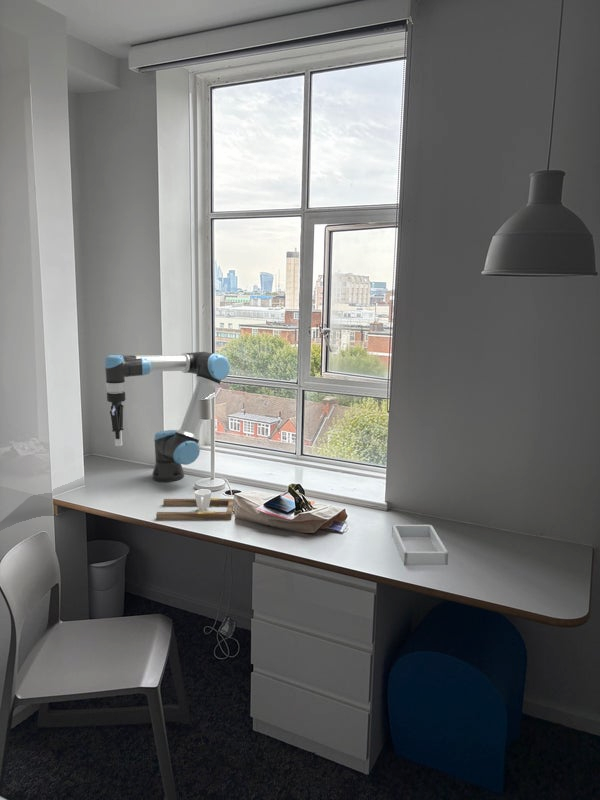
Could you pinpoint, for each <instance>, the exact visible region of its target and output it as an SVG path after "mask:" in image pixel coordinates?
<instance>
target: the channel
mask: <svg viewBox="0 0 600 800" xmlns="http://www.w3.org/2000/svg"><path fill="white" fill-rule="evenodd" d="M162 501H163V503H162V504H163V507H198V506H197V503H196V498H164V499H163V500H162ZM209 507H227V508H226V511H215V510H213V511H212V510H211V511H210V510H208V511H157V512H156V514H155V516H156V518H155V519H156V520H157V521H163V520H164V521H168V520H169V521H170V520H172V521H173V520H175V521H176V520H177V521H180V520H181V521H182V520H183V521H187V520H188V521H190V520H191V521H192V520H193V521H194V520H196V521H199V520H200V521H201V520H204V521H205V520H206V521H207V520H210V521H212V520H214V521H215V520H216V521H217V520H218V521H219V520H221V521H222V520H225V521H226V520H227V521H229V520H232V518H233V513H234V507H235V498H220V497H211V499H210V505H209Z"/></svg>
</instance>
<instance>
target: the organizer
mask: <svg viewBox="0 0 600 800" xmlns="http://www.w3.org/2000/svg"><path fill="white" fill-rule="evenodd" d="M391 528H392V529H391V538H392V539H393V543H394V544H395V547H396V550H397V552H398V554H399V557H400V559H401V561H402V564H403V565H404V566H448V565H449V564H448V562H449V561H448V560H449V551H448V550H447V548H446V547H445V545H444V543H443V542H442V539H441V538H440V536H439V535H438V534H437V533H438V532H437V531H436V530H435V529H434V526H433V525H432V524H392V526H391ZM402 538H429V540H430V542H431V543H432V546H433V547H434V549H435V550H436V551H408V550H407V548H406V546H405V545H404V541H403V540H402Z"/></svg>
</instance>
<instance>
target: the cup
mask: <svg viewBox="0 0 600 800" xmlns="http://www.w3.org/2000/svg"><path fill="white" fill-rule="evenodd" d="M211 498H212V491H211V490H210V489H206V488H201V489H197V490H195V491H194V499H196V503H197V506H196V507H197V510H198V511H210V509H209V507H210V506H209V505H210V499H211ZM198 511H197V512H198Z"/></svg>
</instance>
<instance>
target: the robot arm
mask: <svg viewBox="0 0 600 800" xmlns="http://www.w3.org/2000/svg"><path fill="white" fill-rule="evenodd" d="M230 367H231V366H230V363H229V360H228V358H226V357H225V356H224V355H222V354H219V353H213V352H209V351H197V352H183V353H181V354H175V355H174V354H168V355H167V354H166V355H165V354H164V355H162V354H160V355H159V354H158V355H157V354H154V355H153V354H152V355H151V354H149V355H146V354H145V355H143V354H142V355H140V354H139V355H127V354H125V355H124V354H112V355H111V354H110V355H107V356H106V357H105V360H104V368H105V382H106V383H105V384H104V386H105V387H106V392H107V393H106V401H107V402H109V403H111V406H110V410H109V414H110V419H111V426H112V427H111V429H112V432H114V445H115V447H122V446H123V431H124V429H125V428H124V405H123V404H122V403H123V402H125V401H126V392H125V391H126V383H125V381H126V380H125V379H126V378H128V377H129V378H130V377H140V376H147V375H149V374H150V373H151V372H182V373H184V374H187V373H188V374H194V375H196V376H195V377H196V380H197V383H196V385H195V388H194V391H193V393H192V396H191V398H190V402H189V404H188V407H187V408H186V409H187V410H186V413H185V415H184V418H183V421H182V423H181V426H180V428H179V429H178V430H177V429H169V430H161V431H157V432H156V433H155V434H154V454H155V455H154V456H155V463H154V467H153V471H152V475H151V476H152V480H154V481H157V482H162V483H165V482H166V483H167V482H168V483H169V482H174V481H180V480H182V479H184V477H185V470H184V468H183V465H184V466H186V465H190V464H192V463H194V462H195V461H197V459H198V457H199V456H200V451H201V450H200V446H199V441H200V437H199V433H200V429H201V427H202V424H203V421H204V419H199V411H198V400H201V399H205V398H206V397H208V396H209V395H210V394H214V391H215V388H217V387H218V386H220V385H221V381H222V380H224V379H226V378H227V377H228V376H229V374H230Z"/></svg>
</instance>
